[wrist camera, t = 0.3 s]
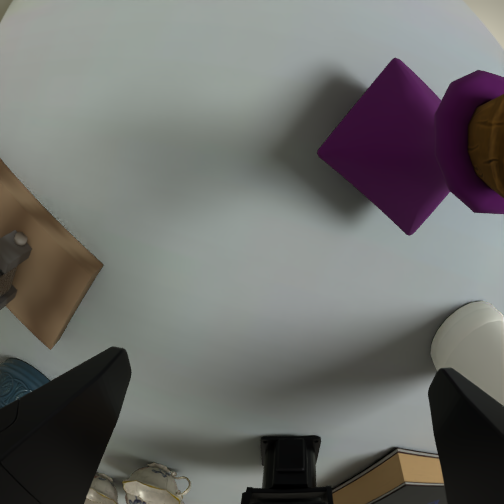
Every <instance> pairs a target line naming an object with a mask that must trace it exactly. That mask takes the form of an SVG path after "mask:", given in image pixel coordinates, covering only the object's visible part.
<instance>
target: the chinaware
mask: <svg viewBox="0 0 504 504" xmlns="http://www.w3.org/2000/svg"><path fill="white" fill-rule="evenodd" d="M147 465H148V466H150V467H143V468H140V469H138V470H136V471H135V472H134V473H133V474H132V475H131V477H130V478H129V479H128V480H127V479H125V480H123V482H122V484H123V489H124V490H125V492H126V495H125V499H126V503H127V504H184V502H183V501H182V499H183V496H182V495H185V494H187V493H188V492H189V490H190V489H191V481H190V480H189V479H188V478H187V477H174V476H176V475H177V473H176V472H174V471H173V472H171V471H169V469H168V468H167V467H166V466H163V465H160V464H157V463H155V462H153V463H151V464H147ZM168 472H171V475H170V474H169V473H168ZM97 474H98V475H99V476H94V479H93V481H92V484H91V487H90V489H89V492H88V494H87V498H88V499H89V500H91V501H93V502H99V503H101V502H102V503H103V504H118V494H117V490H116V488H115V486H114V485H113V484H112V483H111V482H113V480H112V478H110V477H108V476H106V475H105V474H101V473H97ZM173 478H175V479H182V478H184V479H187V480H188V482H189V486H188V488H187V490H186V491H184V492H183V493H181V492H180V490H178V488H177V484H176V482H175V480H174V479H173Z"/></svg>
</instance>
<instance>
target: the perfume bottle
mask: <svg viewBox="0 0 504 504" xmlns="http://www.w3.org/2000/svg"><path fill="white" fill-rule="evenodd" d="M317 154H318V156H319V157H320V158H321V159H322V160H324V161H325V162H326V163H327V164H328V165H330V166H331V167H332V168H333V169H334V170H336V171H337V172H338V173H339V174H340V175H342V176H343V177H344V178H345V179H346V180H348V181H349V182H350V183H351V184H352V185H353V186H354V187H356V188H357V189H358V190H359V191H360V192H361V193H362V194H364V195H365V196H366V197H367V198H368V199H369V200H370V201H371V202H373V203H374V204H375V205H376V206H377V207H378V208H379V209H380V210H381V211H382V212H383V213H384V214H386V215H387V216H388V217H389V218H390V219H391V220H392V221H393V222H394V223H395V224H396V225H397V226H398V227H399V228H400V229H401V230H402V231H403V232H404V233H405V234H406V235H412V234H413V233H414V232H415V231H416V230H417V229H418V228H419V227H420V226H421V225H422V223H423V222H424V221H425V220H426V219H427V218H428V217H429V216H430V214H431V213H432V212H433V211H434V210H435V209H436V207H437V206H438V205H439V204H440V203H441V202H442V200H443V199H444V198H445V197H446V196H447V195H448V193H449V192H452V193H453V194H454V195H455V196H456V197H457V198H459V199H460V200H461V201H462V202H463V203H464V204H465V205H466V206H468V207H469V208H470V209H471V210H472V211H473V212H474V213H492V214H504V77H501V76H498V75H495V74H492V73H489V72H485V71H480V70H477V71H475V72H473V73H471V74H468V75H466V76H464V77H462V78H460V79H457V80H455V81H453V82H452V83H451V84H450V85H449V87H448V89H447V91H446V93H445V95H444V97H443V99H442V101H441V100H440V99H439V98H438V96H437V95H436V94H435V93H434V92H433V91H432V90H431V89H430V88H429V87H428V86H427V85H426V84H425V83H424V82H423V81H422V80H421V79H420V78H419V77H418V76H417V75H416V74H415V73H414V72H413V71H412V70H411V69H410V68H409V67H407V66H406V65H405V64H404V63H403V62H402V61H401V60H400V59H397V58H394V59H392V60H391V62H390V63H389V64H388V65H387V66H386V68H385V69H384V70H383V71H382V72H381V74H380V75H379V76H378V77H377V78H376V80H375V81H374V82H373V83H372V84H371V86H370V87H369V88H368V89H367V91H366V92H365V93H364V94H363V95H362V97H361V98H360V99H359V100H358V102H357V103H356V104H355V105H354V106H353V108H352V109H351V110H350V111H349V113H348V114H347V115H346V116H345V117H344V119H343V120H342V121H341V122H340V124H339V125H338V126H337V127H336V128H335V130H334V131H333V132H332V133H331V135H330V136H329V137H328V138H327V140H326V141H325V142H324V143H323V144H322V146H321V147H320V148H319V149H318V152H317Z"/></svg>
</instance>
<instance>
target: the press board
mask: <svg viewBox="0 0 504 504" xmlns="http://www.w3.org/2000/svg"><path fill="white" fill-rule="evenodd" d="M16 266H17V269H16V272H15V275H14V278H13V282H12V285H11V288H10V290H9V291H8V292H7V293H5V294H4V295H3V296H2V297H0V310H1V309H2V308H3V307H4V306H6V307H7V308H8V309H9V310H10V311H11V312H12V313H13V314H14V315H15V316H16V317H17V318H18V319H19V320H20V321H21V322H22V323H23V324H24V325H25V326H26V327H27V328H28V329H29V330H30V331H31V332H32V333H33V334H34V335H35V336H36V337H37V338H38V339H39V340H40V341H41V342H42V343H43V344H44V345H46V346H47V347H48V348H49V349H50V350H51V349H52V347H53V346H54V345H55V344H56V343H57V342H58V340H59V339H60V338H61V336H62V334H63V332H64V331H65V329H66V327H67V325H68V323H69V322H70V320H71V318H72V316H73V315H74V313H75V311H76V309H77V308H78V306H79V304H80V303H81V301H82V299H83V298H84V296H85V294H86V293H87V291H88V289H89V288H90V286H91V284H92V283H93V281H94V280H95V278H96V276H97V275H98V273H99V272H100V270H101V269H102V267H103V264H102V263H101V262H100V261H99V260H98V259H97V258H96V257H95V256H93V255H92V254H91V253H90V252H89V251H88V250H87V249H86V248H85V247H84V246H83V245H82V244H81V243H80V242H79V241H77V240H76V239H75V238H74V237H73V236H72V235H71V234H70V233H69V232H68V231H67V230H66V229H65V228H64V227H63V226H62V225H61V224H60V223H59V222H58V221H57V220H56V219H55V218H54V217H53V216H52V215H51V214H50V213H49V212H48V211H47V210H46V209H45V208H44V207H43V206H42V204H41V203H40V202H39V201H38V200H37V199H36V198H35V197H34V196H33V195H32V194H31V193H30V192H29V191H28V190H27V188H26V187H25V186H24V185H23V184H22V183H21V182H20V181H19V180H18V178H17V177H16V176H15V175H14V174H13V173H12V172H11V171H10V169H9V168H8V167H7V166H6V165H5V164H4V162H3V161H2V160H1V159H0V269H1V270H2V271H3V273H4V274H6V273H8V272H9V271H11V270H12V269H13V268H15V267H16Z"/></svg>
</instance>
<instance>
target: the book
mask: <svg viewBox="0 0 504 504" xmlns="http://www.w3.org/2000/svg"><path fill="white" fill-rule="evenodd" d="M332 495H333V503H334V504H447V499H446V492H445V487H444V481H443V476H442V470H441V465H440V461H439V456H438V455H437V454H430V453H423V452H417V451H411V450H405V449H400V448H397V449H395V450H394V451H393V452H391V453H390V454H388V455H387V456H386V457H384V458H383V459H381V460H380V461H378V462H377V463H375V464H374V465H372V466H371V467H369V468H368V469H366V470H365V471H363V472H361V473H360V474H358V475H357V476H355V477H353V478H352V479H350V480H348V481H347V482H345V483H343V484H342V485H340V486H338V487H336V488H335V489H333V490H332Z"/></svg>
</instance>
